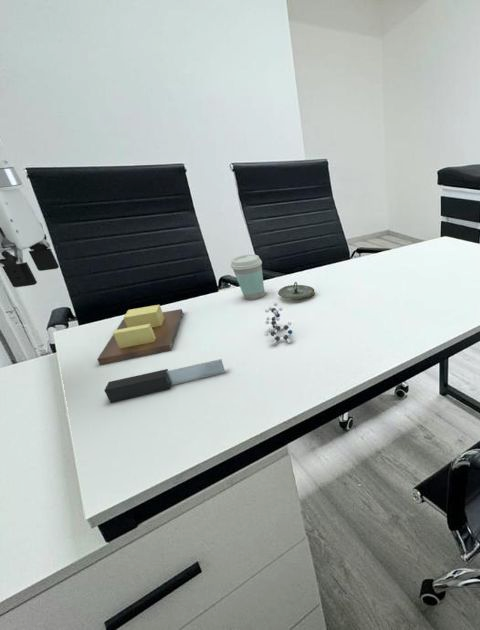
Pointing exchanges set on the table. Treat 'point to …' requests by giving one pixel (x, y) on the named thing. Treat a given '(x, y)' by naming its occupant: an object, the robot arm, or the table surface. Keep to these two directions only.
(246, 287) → the coffee cup
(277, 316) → the molecule model
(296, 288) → the lid
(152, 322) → the butter block
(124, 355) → the board
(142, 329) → the butter slice
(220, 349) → the table surface
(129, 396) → the knife
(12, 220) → the robot arm
